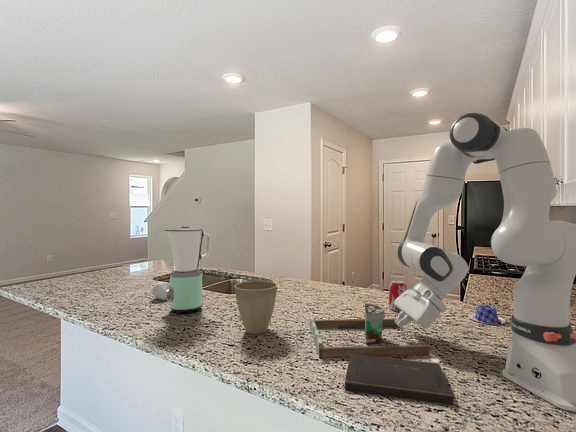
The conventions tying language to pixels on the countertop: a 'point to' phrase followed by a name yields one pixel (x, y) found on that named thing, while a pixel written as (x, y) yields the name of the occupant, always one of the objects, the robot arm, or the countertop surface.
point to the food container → (373, 323)
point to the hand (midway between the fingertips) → (397, 325)
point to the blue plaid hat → (486, 314)
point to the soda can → (396, 292)
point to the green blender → (186, 269)
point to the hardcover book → (397, 379)
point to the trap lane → (359, 350)
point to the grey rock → (160, 290)
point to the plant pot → (256, 304)
